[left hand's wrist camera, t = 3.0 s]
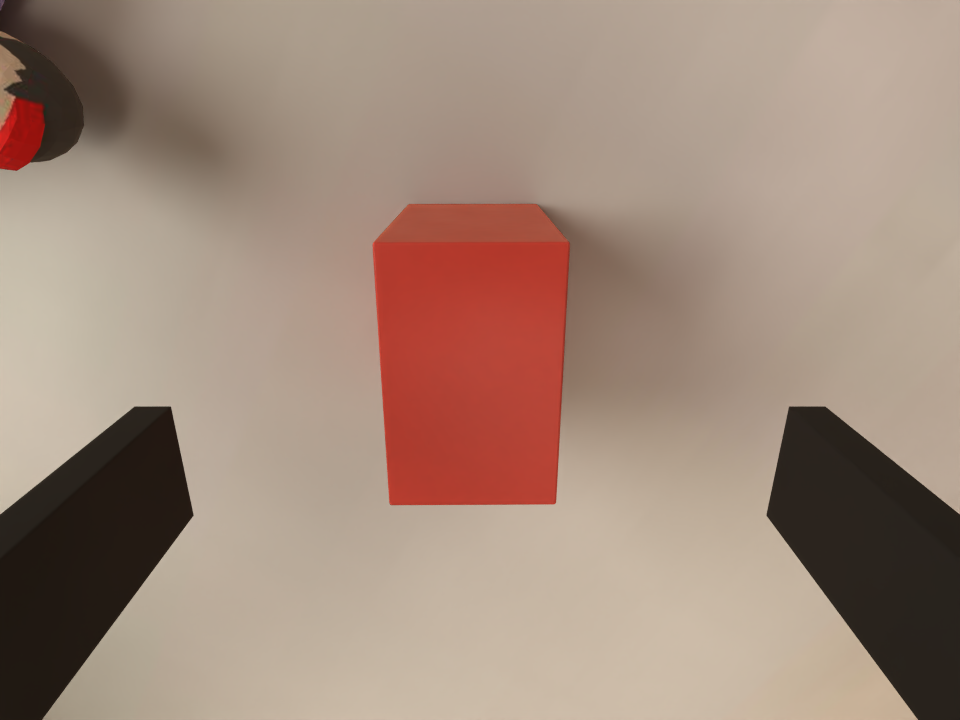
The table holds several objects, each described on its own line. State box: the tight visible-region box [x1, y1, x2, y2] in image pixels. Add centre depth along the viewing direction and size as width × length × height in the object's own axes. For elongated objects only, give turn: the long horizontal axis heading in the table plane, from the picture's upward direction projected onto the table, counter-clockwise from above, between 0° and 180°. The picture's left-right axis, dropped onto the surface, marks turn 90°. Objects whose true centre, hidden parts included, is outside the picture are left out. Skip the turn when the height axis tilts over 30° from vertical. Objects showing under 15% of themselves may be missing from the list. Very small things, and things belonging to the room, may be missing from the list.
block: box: [373, 204, 570, 505], centre depth 21 cm, size 5×8×9 cm, turn 0°
